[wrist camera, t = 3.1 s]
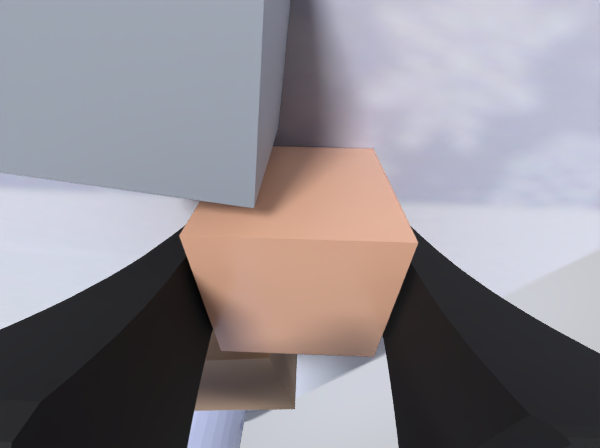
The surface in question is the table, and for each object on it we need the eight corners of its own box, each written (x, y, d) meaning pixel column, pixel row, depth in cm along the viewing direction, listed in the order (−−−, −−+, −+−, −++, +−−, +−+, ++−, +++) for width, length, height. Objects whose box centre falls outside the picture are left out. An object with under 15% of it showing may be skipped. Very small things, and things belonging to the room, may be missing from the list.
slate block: (278, 126, 9) (254, 208, 5) (130, 102, 9) (-18, 169, 5) (300, -92, 6) (278, -303, 2) (73, -141, 6) (-460, -500, 2)
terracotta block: (354, 250, 12) (373, 356, 8) (249, 246, 13) (221, 351, 9) (373, 148, 9) (418, 242, 5) (234, 145, 9) (179, 235, 6)
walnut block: (298, 313, 16) (294, 408, 12) (221, 318, 17) (193, 410, 13) (282, 255, 13) (269, 357, 9) (188, 264, 14) (138, 363, 10)
